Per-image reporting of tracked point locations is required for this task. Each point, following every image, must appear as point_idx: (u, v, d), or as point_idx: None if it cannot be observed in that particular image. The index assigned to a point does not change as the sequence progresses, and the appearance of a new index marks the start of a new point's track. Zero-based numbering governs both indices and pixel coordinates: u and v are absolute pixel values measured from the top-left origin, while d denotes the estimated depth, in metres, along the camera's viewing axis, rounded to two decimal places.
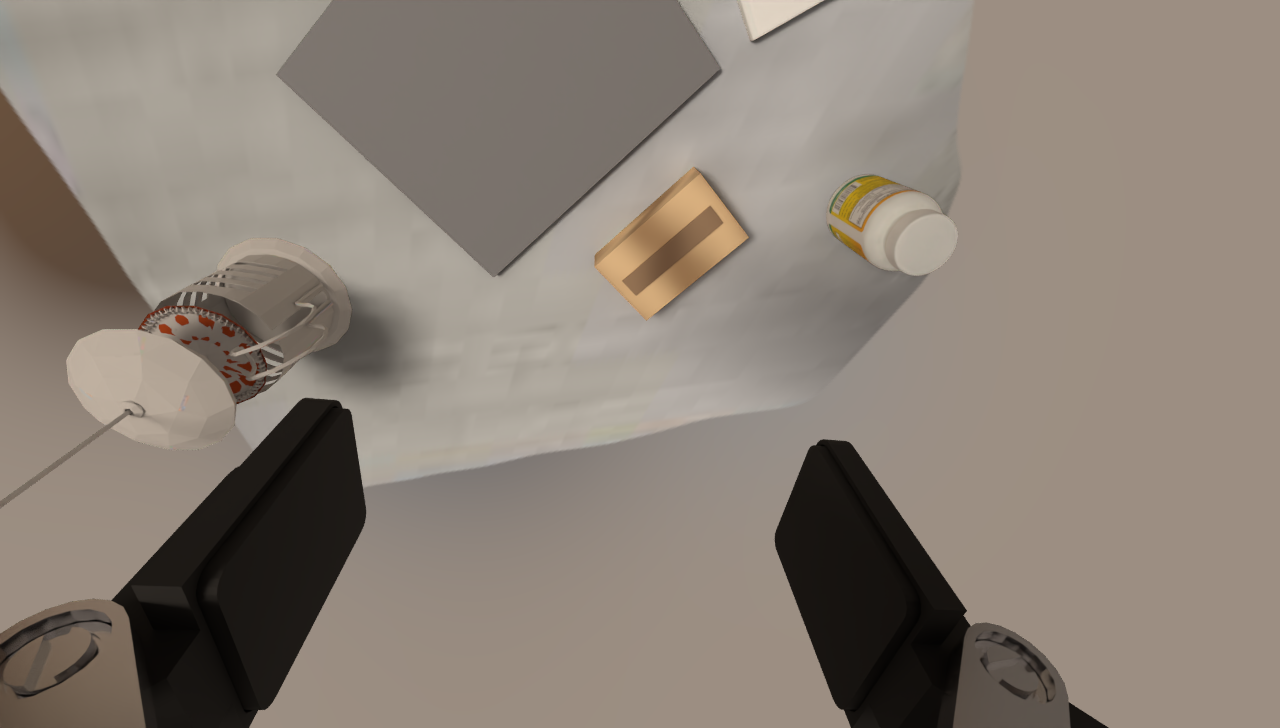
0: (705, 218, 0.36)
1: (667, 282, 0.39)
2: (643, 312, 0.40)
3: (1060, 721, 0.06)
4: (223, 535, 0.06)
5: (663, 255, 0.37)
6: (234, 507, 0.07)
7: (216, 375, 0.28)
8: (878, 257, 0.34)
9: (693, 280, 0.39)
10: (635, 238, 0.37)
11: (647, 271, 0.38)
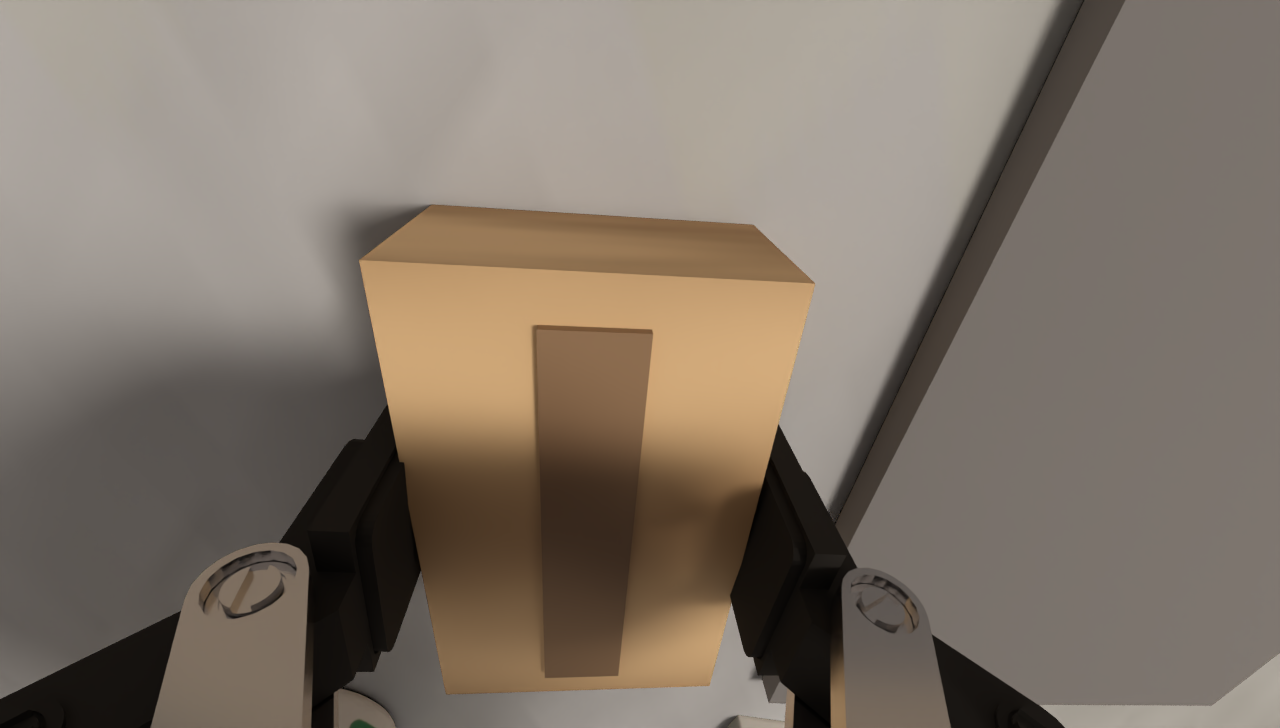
0: (598, 655, 0.11)
1: (486, 462, 0.08)
2: (419, 284, 0.07)
3: (926, 644, 0.07)
4: (370, 492, 0.07)
5: (599, 514, 0.09)
6: (372, 470, 0.08)
7: None
8: None
9: (421, 532, 0.09)
10: (738, 484, 0.09)
11: (598, 443, 0.08)
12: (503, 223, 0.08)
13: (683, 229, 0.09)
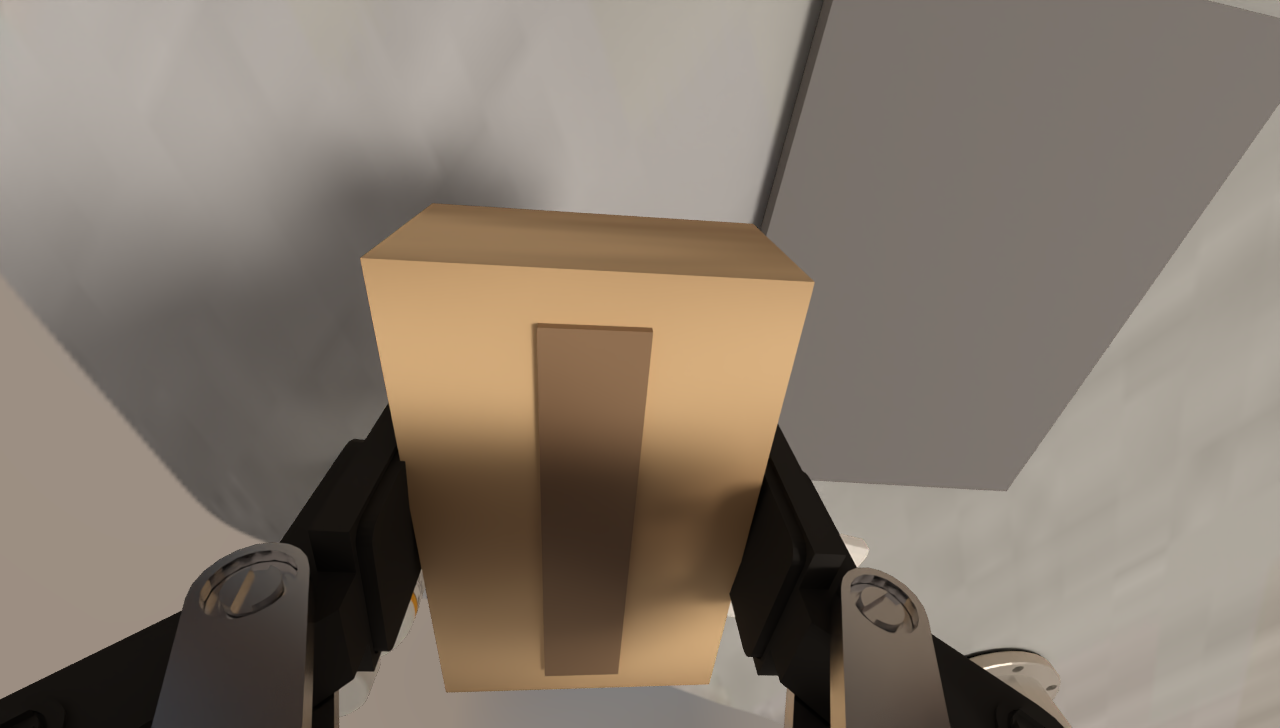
0: (598, 653, 0.11)
1: (487, 460, 0.08)
2: (420, 282, 0.07)
3: (926, 644, 0.07)
4: (370, 492, 0.07)
5: (600, 512, 0.09)
6: (372, 470, 0.08)
7: None
8: None
9: (421, 530, 0.09)
10: (737, 482, 0.09)
11: (598, 441, 0.08)
12: (504, 221, 0.08)
13: (683, 228, 0.09)
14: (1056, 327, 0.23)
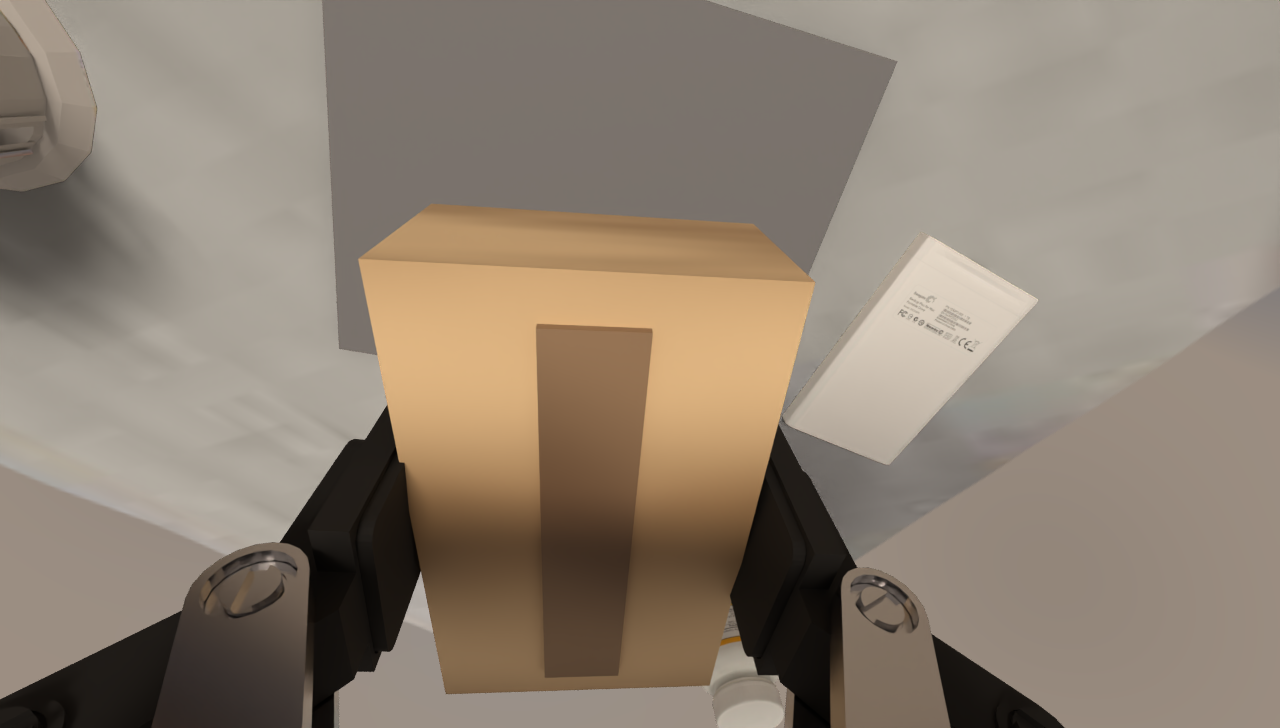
0: (598, 655, 0.11)
1: (486, 461, 0.08)
2: (418, 283, 0.07)
3: (926, 644, 0.07)
4: (371, 492, 0.07)
5: (599, 513, 0.09)
6: (372, 470, 0.08)
7: None
8: None
9: (420, 532, 0.09)
10: (737, 483, 0.09)
11: (597, 442, 0.08)
12: (503, 221, 0.08)
13: (683, 228, 0.09)
14: (642, 84, 0.20)
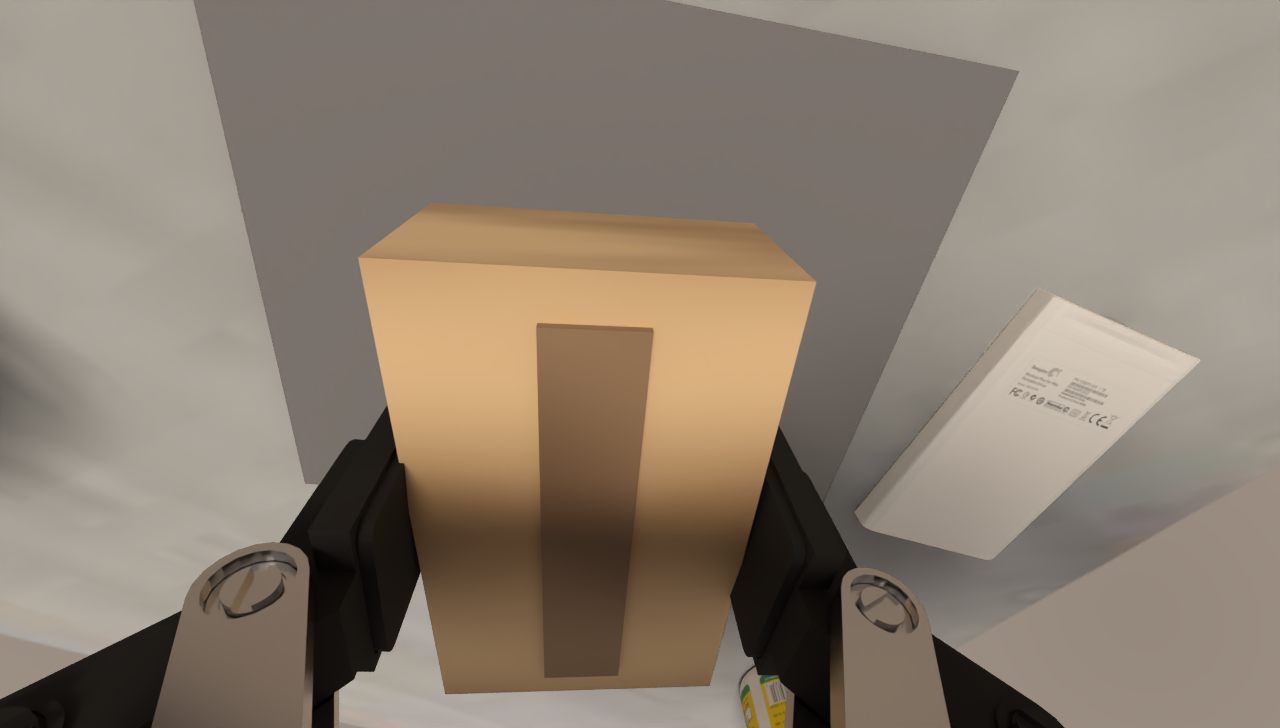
0: (598, 655, 0.11)
1: (486, 461, 0.08)
2: (418, 282, 0.07)
3: (926, 644, 0.07)
4: (370, 492, 0.07)
5: (600, 513, 0.09)
6: (372, 470, 0.08)
7: None
8: None
9: (420, 531, 0.09)
10: (738, 483, 0.09)
11: (598, 442, 0.08)
12: (503, 221, 0.08)
13: (684, 227, 0.09)
14: (657, 139, 0.15)
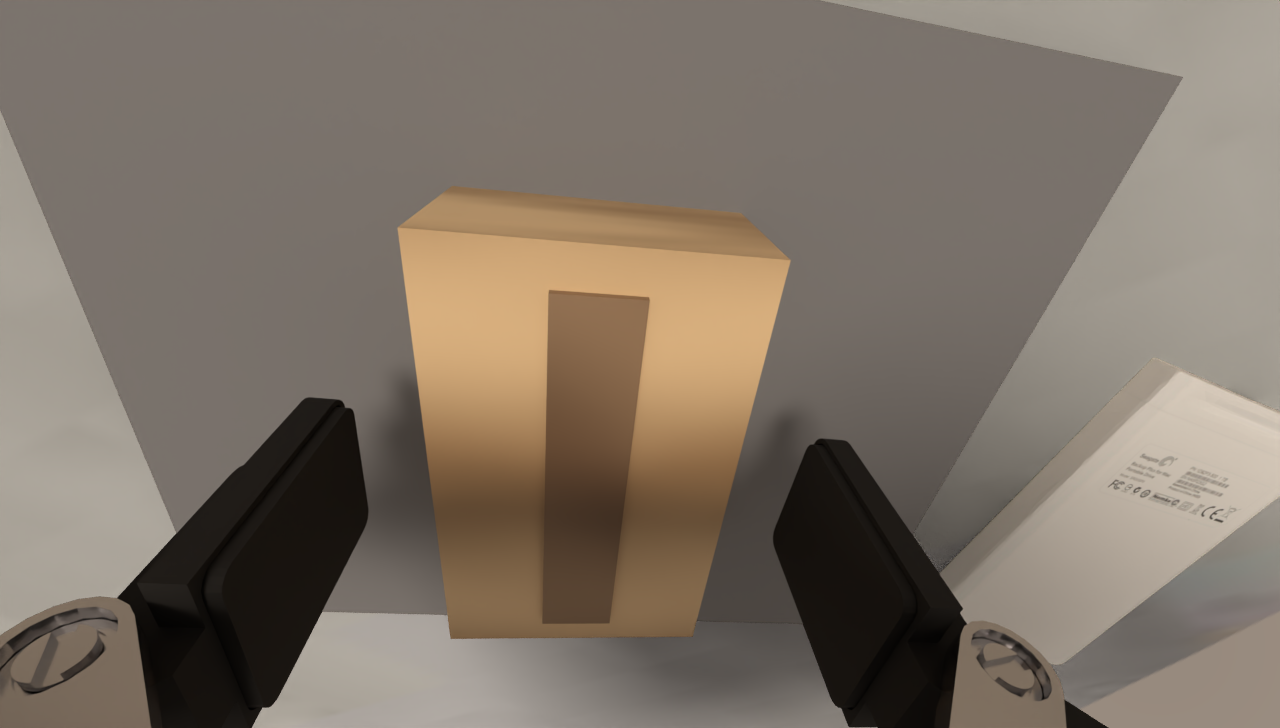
0: (591, 602, 0.12)
1: (498, 414, 0.09)
2: (448, 251, 0.08)
3: (1056, 718, 0.06)
4: (228, 534, 0.06)
5: (597, 467, 0.10)
6: (238, 505, 0.07)
7: None
8: None
9: (436, 479, 0.10)
10: (721, 442, 0.10)
11: (598, 399, 0.09)
12: (518, 203, 0.09)
13: (678, 214, 0.10)
14: (666, 174, 0.10)
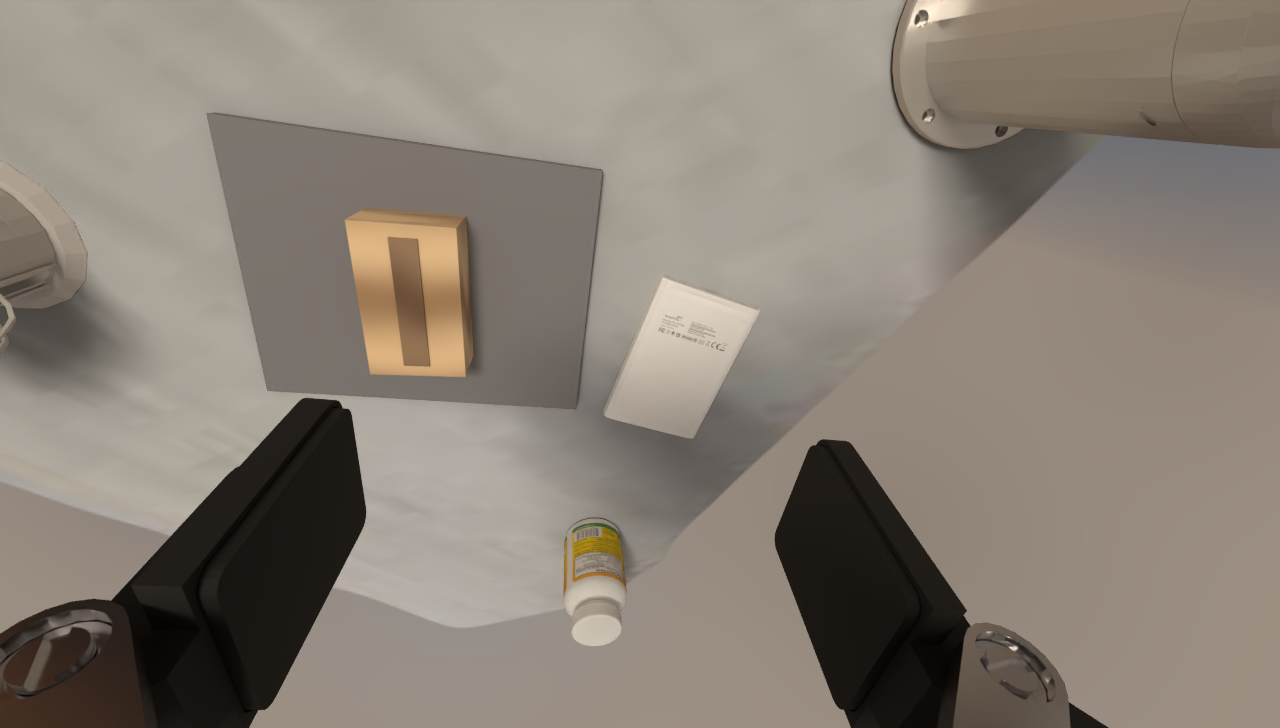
0: (421, 355, 0.33)
1: (378, 277, 0.30)
2: (358, 225, 0.28)
3: (1060, 721, 0.06)
4: (222, 535, 0.06)
5: (413, 297, 0.31)
6: (234, 507, 0.07)
7: None
8: (569, 607, 0.41)
9: (360, 301, 0.31)
10: (452, 287, 0.31)
11: (407, 271, 0.30)
12: (384, 213, 0.30)
13: (439, 216, 0.31)
14: (437, 203, 0.31)
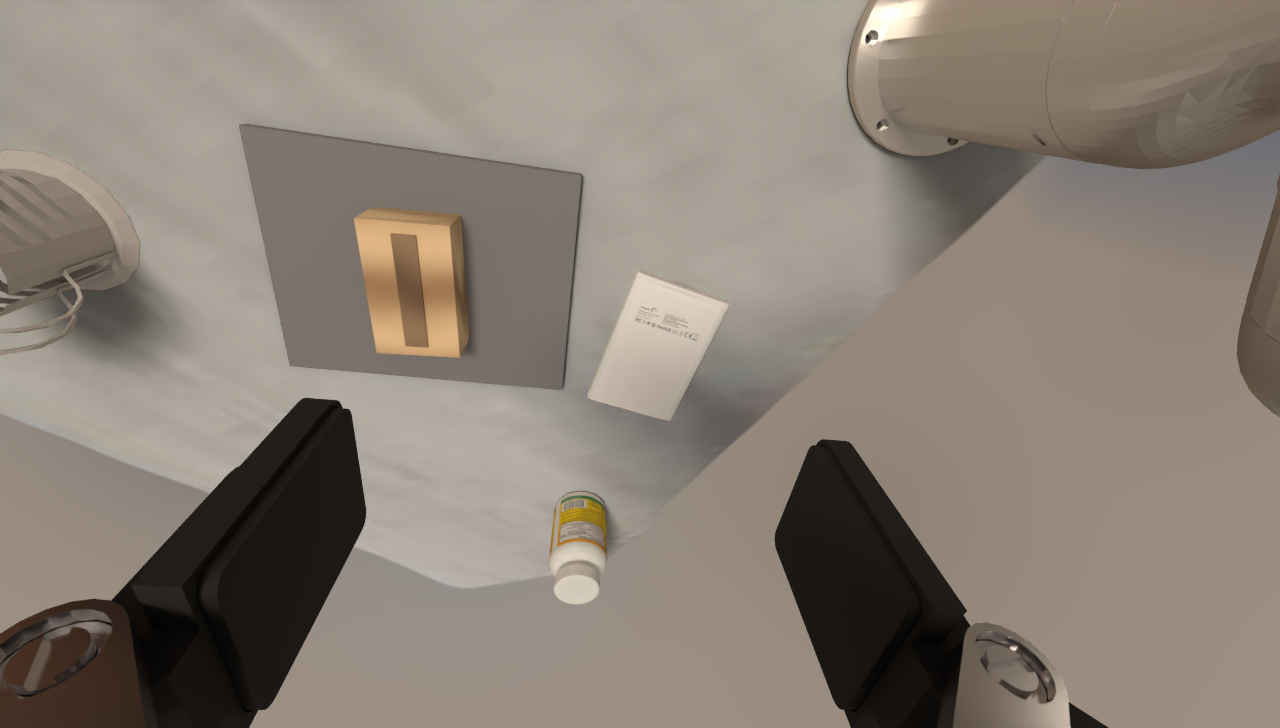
0: (420, 337, 0.37)
1: (382, 267, 0.34)
2: (365, 223, 0.33)
3: (1060, 721, 0.06)
4: (223, 536, 0.06)
5: (413, 285, 0.35)
6: (234, 507, 0.07)
7: None
8: (553, 568, 0.46)
9: (367, 288, 0.35)
10: (447, 278, 0.35)
11: (408, 263, 0.34)
12: (389, 212, 0.35)
13: (436, 214, 0.35)
14: (435, 203, 0.36)
